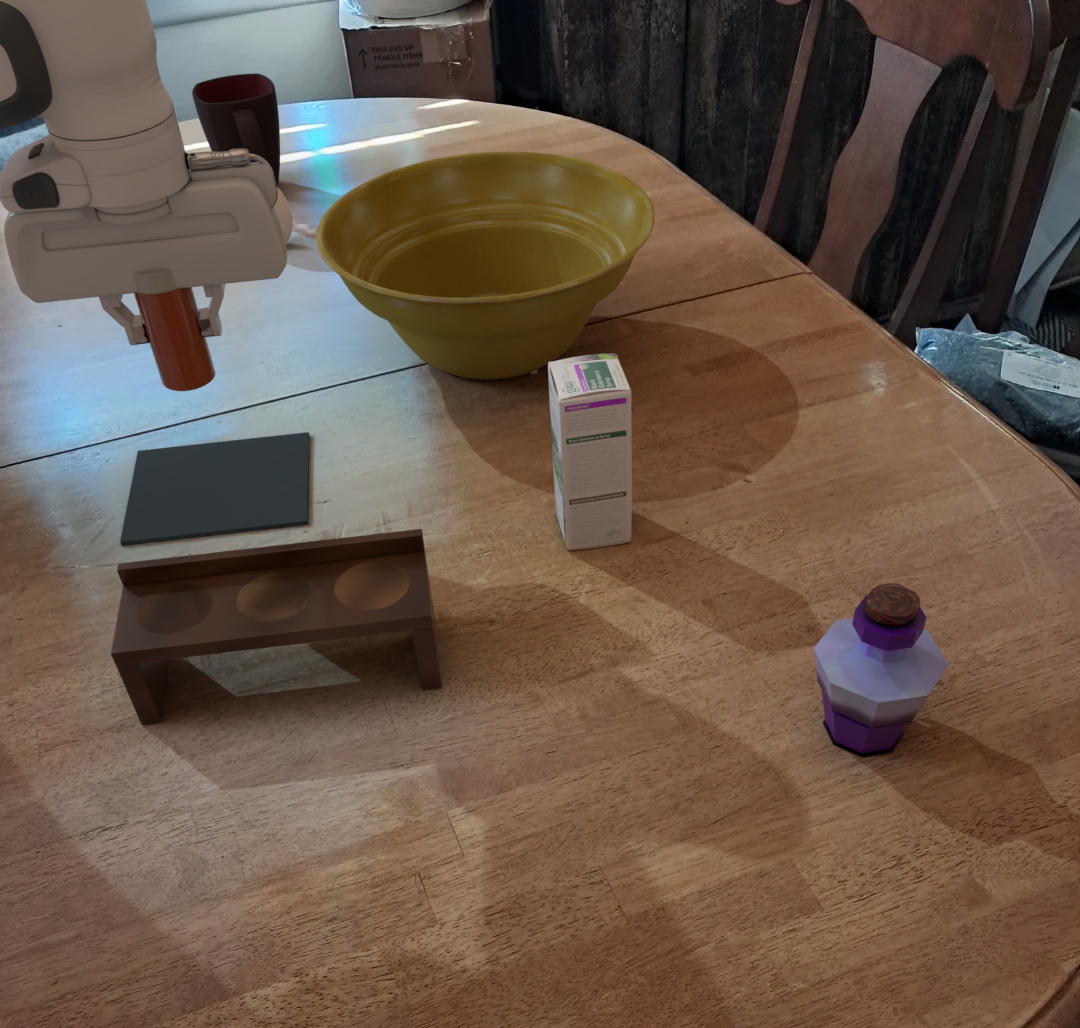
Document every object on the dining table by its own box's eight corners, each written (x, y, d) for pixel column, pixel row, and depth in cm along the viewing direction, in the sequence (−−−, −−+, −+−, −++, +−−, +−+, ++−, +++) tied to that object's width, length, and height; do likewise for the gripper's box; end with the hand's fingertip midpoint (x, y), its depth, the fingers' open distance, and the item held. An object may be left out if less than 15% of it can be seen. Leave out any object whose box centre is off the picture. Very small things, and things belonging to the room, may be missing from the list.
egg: (271, 235, 140) (257, 172, 134) (304, 239, 138) (292, 176, 133) (251, 252, 137) (236, 188, 131) (285, 256, 135) (271, 193, 130)
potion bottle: (927, 692, 83) (965, 561, 74) (927, 782, 77) (968, 652, 68) (805, 677, 84) (828, 546, 76) (796, 764, 79) (819, 634, 70)
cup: (284, 167, 154) (265, 69, 145) (307, 207, 145) (287, 105, 136) (210, 181, 152) (186, 82, 143) (228, 222, 143) (204, 119, 134)
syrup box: (633, 543, 96) (636, 387, 85) (563, 553, 95) (558, 397, 85) (619, 503, 100) (620, 349, 89) (551, 512, 99) (545, 358, 89)
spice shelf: (141, 725, 84) (103, 637, 77) (152, 650, 89) (117, 562, 83) (442, 688, 85) (428, 598, 79) (434, 617, 90) (421, 528, 84)
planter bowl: (398, 467, 105) (377, 330, 95) (301, 315, 125) (275, 190, 115) (708, 380, 113) (718, 245, 103) (569, 250, 133) (566, 128, 124)
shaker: (158, 395, 94) (120, 277, 87) (163, 366, 97) (127, 250, 90) (214, 388, 94) (181, 270, 87) (218, 360, 97) (186, 244, 90)
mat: (121, 545, 98) (119, 542, 98) (138, 454, 108) (137, 450, 108) (308, 524, 99) (307, 520, 99) (309, 435, 109) (308, 431, 109)
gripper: (269, 129, 86) (305, 305, 96) (-10, 156, 85) (56, 331, 95) (266, 162, 81) (304, 342, 92) (-28, 191, 80) (43, 370, 90)
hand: (176, 337), depth 93 cm, fingers closed on shaker, 4 cm apart
